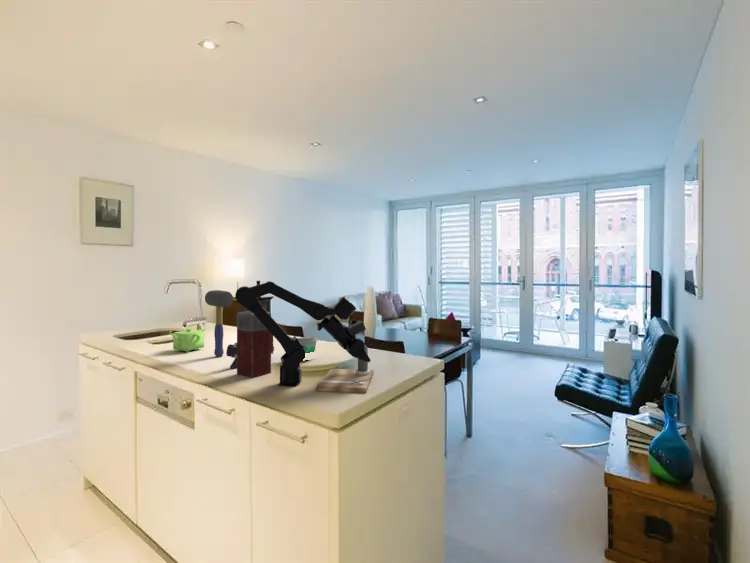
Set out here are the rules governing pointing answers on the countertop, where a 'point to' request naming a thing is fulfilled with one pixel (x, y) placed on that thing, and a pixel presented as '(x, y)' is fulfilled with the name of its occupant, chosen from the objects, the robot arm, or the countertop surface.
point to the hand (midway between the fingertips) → (366, 358)
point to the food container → (308, 344)
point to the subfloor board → (345, 381)
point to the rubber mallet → (218, 315)
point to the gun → (234, 354)
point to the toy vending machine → (253, 346)
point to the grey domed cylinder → (363, 365)
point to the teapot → (188, 340)
